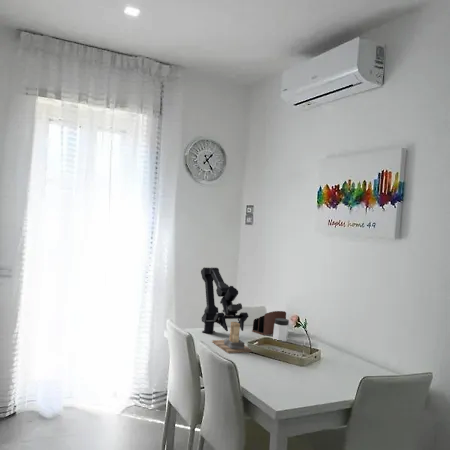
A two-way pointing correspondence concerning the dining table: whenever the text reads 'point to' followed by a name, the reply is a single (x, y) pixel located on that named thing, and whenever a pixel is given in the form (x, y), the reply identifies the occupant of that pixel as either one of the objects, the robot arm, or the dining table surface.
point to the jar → (281, 329)
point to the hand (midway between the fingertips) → (235, 330)
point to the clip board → (231, 346)
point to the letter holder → (267, 322)
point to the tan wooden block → (234, 332)
